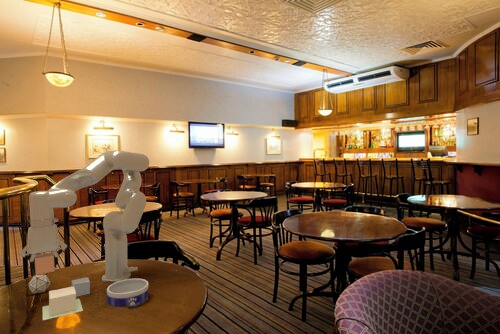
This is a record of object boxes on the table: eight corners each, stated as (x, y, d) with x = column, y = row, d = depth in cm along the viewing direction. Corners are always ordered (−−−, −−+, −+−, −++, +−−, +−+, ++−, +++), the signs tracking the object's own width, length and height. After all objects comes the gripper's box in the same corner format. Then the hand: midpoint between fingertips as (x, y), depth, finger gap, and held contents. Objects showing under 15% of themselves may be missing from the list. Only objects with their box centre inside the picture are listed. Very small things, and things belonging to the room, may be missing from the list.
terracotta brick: (54, 266, 122) (53, 252, 122) (54, 271, 117) (53, 255, 117) (35, 270, 119) (35, 255, 119) (35, 275, 114) (34, 259, 114)
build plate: (79, 301, 119) (79, 298, 119) (82, 313, 109) (82, 310, 109) (42, 309, 112) (42, 306, 112) (42, 323, 102) (42, 320, 102)
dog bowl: (117, 314, 109) (117, 297, 109) (100, 301, 120) (100, 285, 120) (155, 300, 120) (155, 284, 120) (137, 289, 131) (137, 275, 131)
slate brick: (88, 291, 129) (87, 277, 129) (89, 296, 124) (89, 281, 124) (71, 294, 125) (71, 280, 125) (72, 299, 120) (72, 284, 120)
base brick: (74, 301, 116) (73, 286, 116) (76, 309, 110) (75, 293, 110) (49, 307, 112) (49, 291, 112) (49, 316, 105) (49, 299, 105)
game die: (40, 303, 125) (34, 290, 119) (24, 294, 127) (18, 281, 121) (58, 286, 132) (54, 272, 126) (43, 278, 134) (38, 264, 128)
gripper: (67, 218, 125) (70, 261, 126) (15, 224, 115) (17, 271, 116) (69, 221, 119) (71, 266, 120) (13, 228, 109) (16, 277, 110)
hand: (45, 268), depth 118 cm, fingers closed on terracotta brick, 6 cm apart
